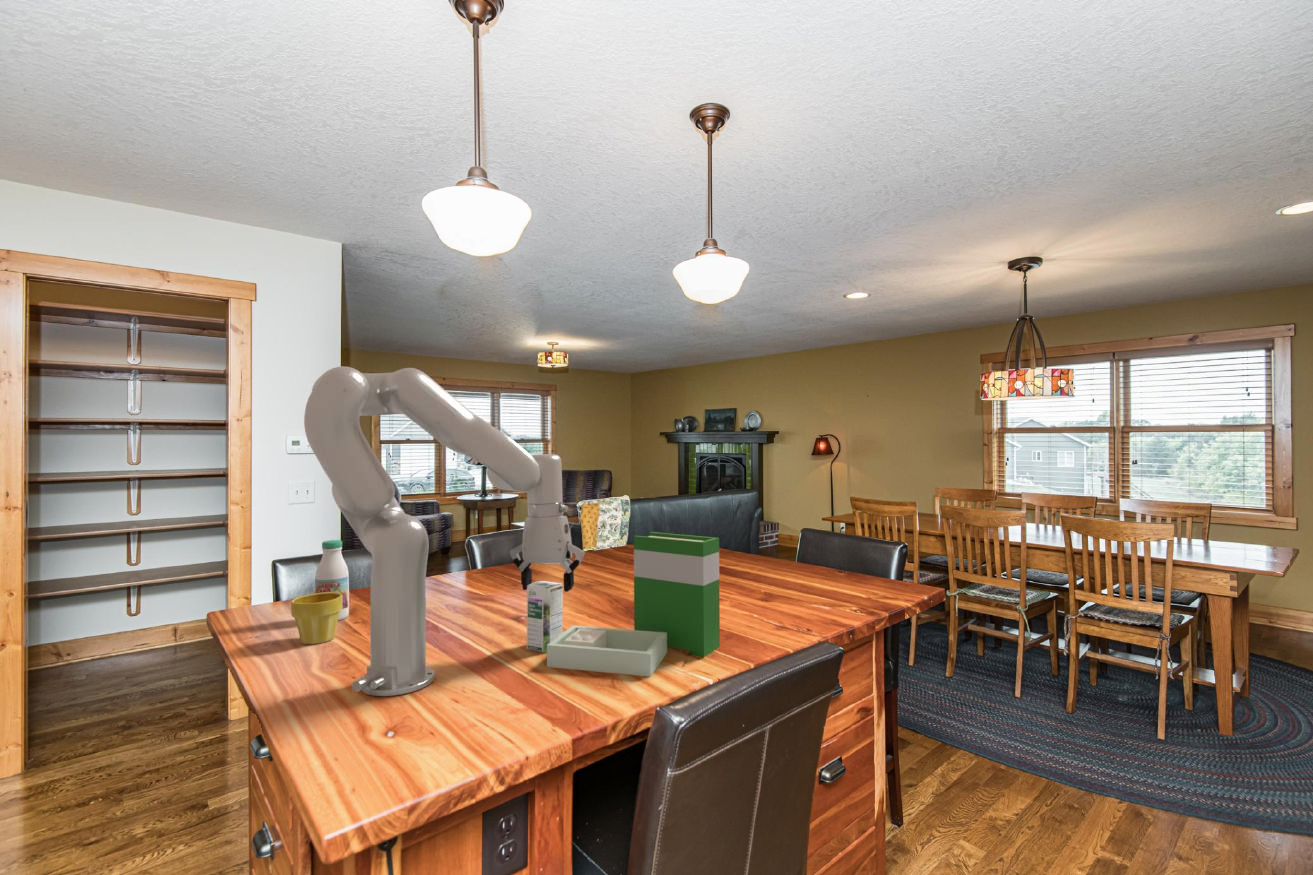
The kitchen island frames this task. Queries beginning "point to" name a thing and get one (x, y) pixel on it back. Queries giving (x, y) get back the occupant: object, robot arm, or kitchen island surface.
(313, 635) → the plant pot
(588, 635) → the white toy brick
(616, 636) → the tote
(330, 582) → the milk bottle
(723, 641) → the kitchen island surface
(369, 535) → the robot arm
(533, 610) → the syrup box
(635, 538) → the hardback book
